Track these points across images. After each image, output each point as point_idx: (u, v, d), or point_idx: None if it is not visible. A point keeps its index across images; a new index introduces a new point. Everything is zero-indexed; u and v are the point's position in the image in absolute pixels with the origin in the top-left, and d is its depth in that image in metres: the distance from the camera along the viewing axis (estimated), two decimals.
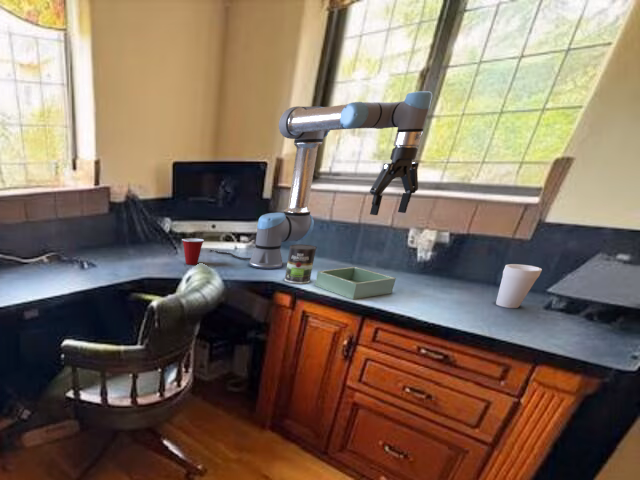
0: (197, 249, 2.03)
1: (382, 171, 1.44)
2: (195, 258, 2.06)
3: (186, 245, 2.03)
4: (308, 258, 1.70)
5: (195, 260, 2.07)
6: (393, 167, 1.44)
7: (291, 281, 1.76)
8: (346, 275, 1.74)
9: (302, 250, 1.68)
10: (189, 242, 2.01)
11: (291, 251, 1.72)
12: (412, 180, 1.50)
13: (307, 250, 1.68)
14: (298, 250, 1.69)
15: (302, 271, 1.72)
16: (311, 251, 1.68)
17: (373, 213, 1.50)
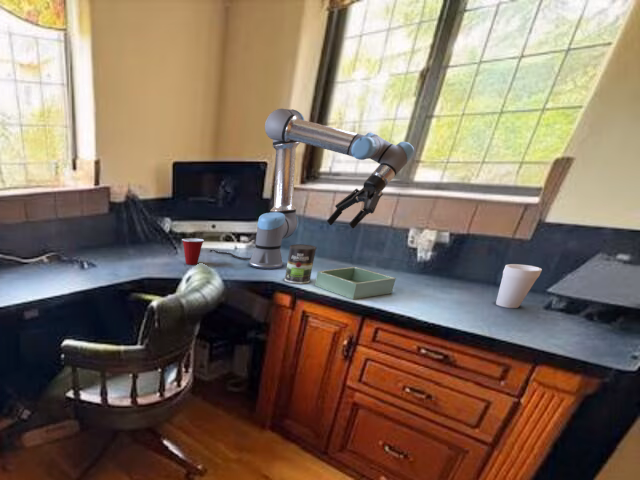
0: (197, 249, 2.03)
1: (377, 195, 1.63)
2: (195, 258, 2.06)
3: (186, 245, 2.03)
4: (308, 258, 1.70)
5: (195, 260, 2.07)
6: None
7: (291, 281, 1.76)
8: (346, 275, 1.74)
9: (302, 250, 1.68)
10: (189, 242, 2.01)
11: (291, 251, 1.72)
12: None
13: (307, 250, 1.68)
14: (298, 250, 1.69)
15: (302, 271, 1.72)
16: (311, 251, 1.68)
17: (352, 225, 1.66)
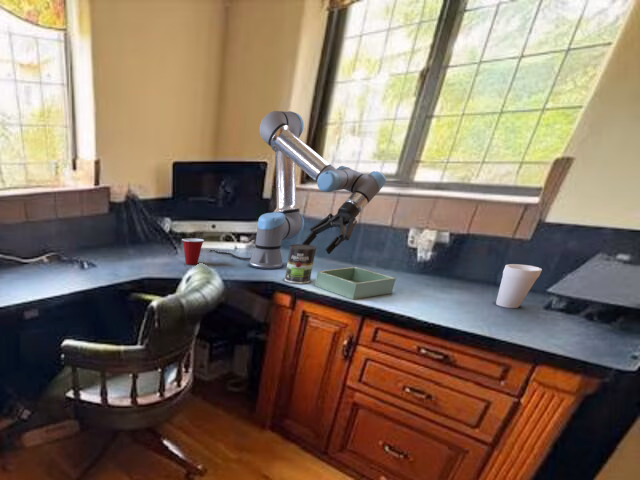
0: (197, 249, 2.03)
1: (352, 223, 1.66)
2: (195, 258, 2.06)
3: (186, 245, 2.03)
4: (308, 258, 1.70)
5: (195, 260, 2.07)
6: None
7: (291, 281, 1.76)
8: (346, 275, 1.74)
9: (302, 250, 1.68)
10: (189, 242, 2.01)
11: (291, 251, 1.72)
12: None
13: (307, 250, 1.68)
14: (298, 250, 1.69)
15: (302, 271, 1.72)
16: (311, 251, 1.68)
17: (329, 251, 1.69)
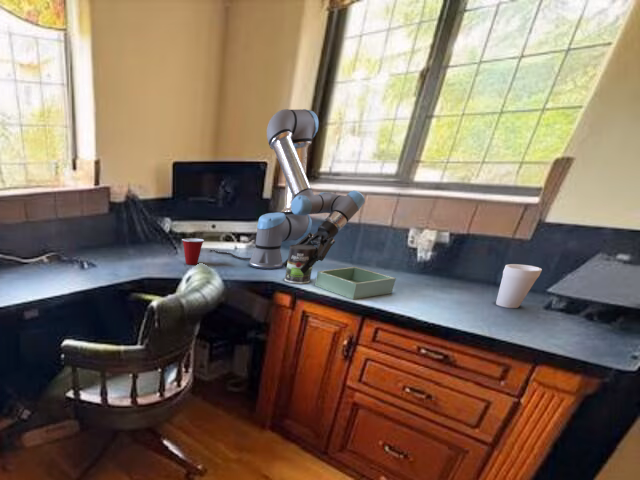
0: (197, 249, 2.03)
1: (329, 243, 1.67)
2: (195, 258, 2.06)
3: (186, 245, 2.03)
4: (308, 258, 1.70)
5: (195, 260, 2.07)
6: None
7: (291, 281, 1.76)
8: (346, 275, 1.74)
9: (302, 250, 1.68)
10: (189, 242, 2.01)
11: (291, 251, 1.72)
12: None
13: (307, 250, 1.68)
14: (298, 250, 1.69)
15: None
16: (311, 251, 1.68)
17: (303, 271, 1.71)
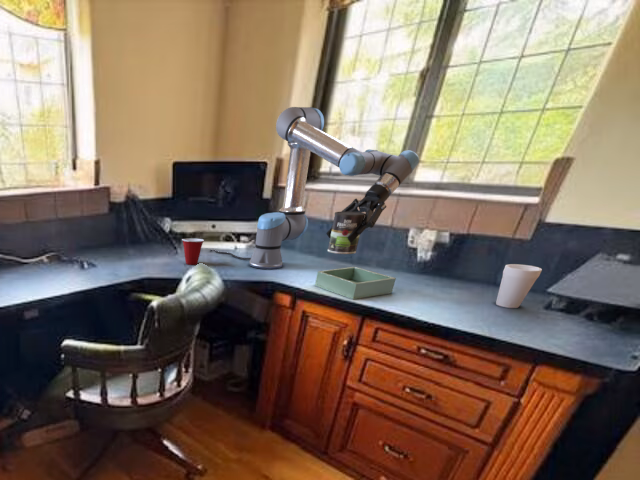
0: (197, 249, 2.03)
1: (380, 208, 1.52)
2: (195, 258, 2.06)
3: (186, 245, 2.03)
4: (356, 225, 1.54)
5: (195, 260, 2.07)
6: None
7: (336, 251, 1.60)
8: (346, 275, 1.74)
9: (350, 216, 1.53)
10: (189, 242, 2.01)
11: (337, 218, 1.57)
12: None
13: (356, 216, 1.52)
14: (345, 216, 1.54)
15: None
16: (360, 217, 1.53)
17: (351, 239, 1.55)
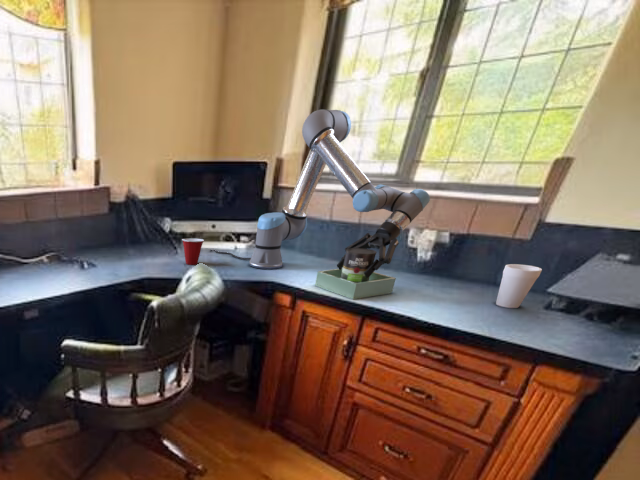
0: (197, 249, 2.03)
1: (393, 245, 1.54)
2: (195, 258, 2.06)
3: (186, 245, 2.03)
4: (368, 263, 1.57)
5: (195, 260, 2.07)
6: (390, 243, 1.57)
7: None
8: None
9: (362, 255, 1.55)
10: (189, 242, 2.01)
11: (348, 255, 1.59)
12: None
13: (367, 255, 1.55)
14: (357, 255, 1.56)
15: (360, 277, 1.59)
16: (371, 256, 1.55)
17: (367, 275, 1.56)
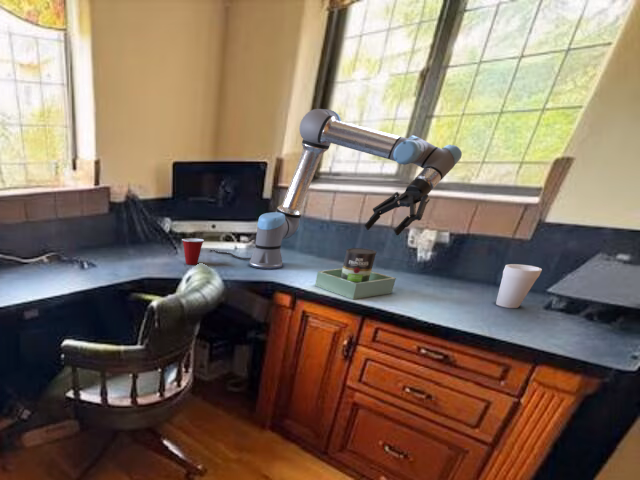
0: (197, 249, 2.03)
1: (424, 201, 1.52)
2: (195, 258, 2.06)
3: (186, 245, 2.03)
4: (368, 263, 1.57)
5: (195, 260, 2.07)
6: (420, 200, 1.55)
7: None
8: None
9: (362, 255, 1.55)
10: (189, 242, 2.01)
11: (348, 255, 1.59)
12: None
13: (367, 255, 1.55)
14: (357, 254, 1.56)
15: (360, 277, 1.59)
16: (371, 256, 1.55)
17: (397, 232, 1.54)
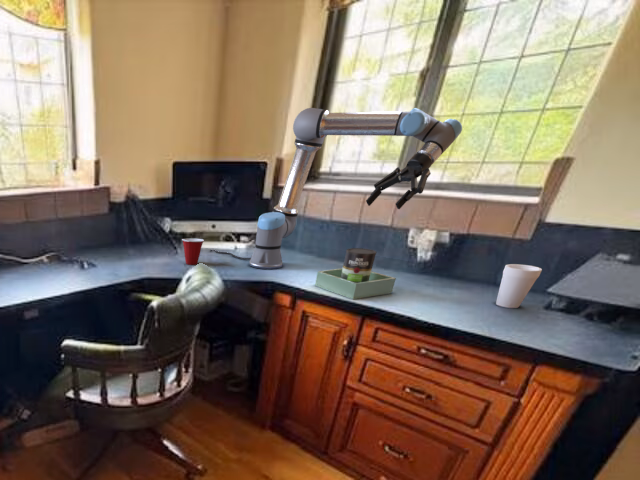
0: (197, 249, 2.03)
1: (425, 174, 1.53)
2: (195, 258, 2.06)
3: (186, 245, 2.03)
4: (368, 263, 1.57)
5: (195, 260, 2.07)
6: (421, 174, 1.56)
7: None
8: None
9: (362, 255, 1.55)
10: (189, 242, 2.01)
11: (348, 255, 1.59)
12: None
13: (367, 255, 1.55)
14: (357, 254, 1.56)
15: (360, 277, 1.59)
16: (371, 256, 1.55)
17: (399, 206, 1.55)
